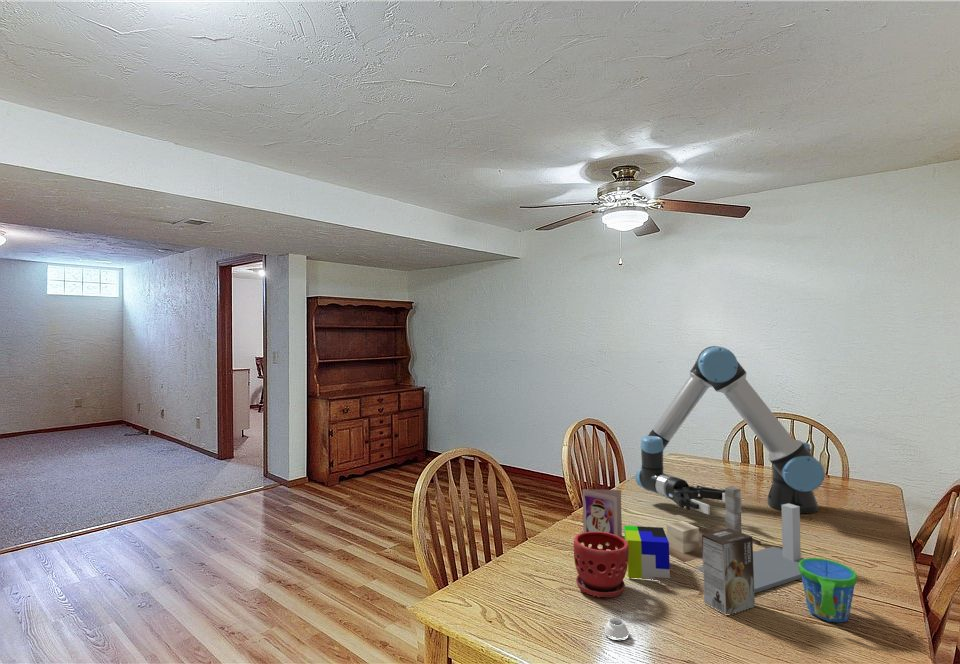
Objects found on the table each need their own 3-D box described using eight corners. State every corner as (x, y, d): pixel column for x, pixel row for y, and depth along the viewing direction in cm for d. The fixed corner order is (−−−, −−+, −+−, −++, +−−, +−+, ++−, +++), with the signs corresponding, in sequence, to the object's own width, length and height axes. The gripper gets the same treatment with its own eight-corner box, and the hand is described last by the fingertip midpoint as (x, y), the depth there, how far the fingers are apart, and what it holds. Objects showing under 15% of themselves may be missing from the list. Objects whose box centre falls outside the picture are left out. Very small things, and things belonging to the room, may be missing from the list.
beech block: (682, 541, 148) (682, 520, 148) (699, 549, 142) (698, 527, 142) (667, 545, 145) (666, 524, 145) (683, 553, 140) (682, 531, 140)
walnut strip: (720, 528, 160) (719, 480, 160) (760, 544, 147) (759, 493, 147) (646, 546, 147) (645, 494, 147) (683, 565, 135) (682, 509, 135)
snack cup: (855, 640, 101) (854, 589, 101) (793, 622, 108) (792, 574, 108) (860, 607, 113) (859, 562, 113) (805, 592, 120) (804, 549, 120)
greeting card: (582, 539, 153) (581, 490, 154) (594, 532, 159) (593, 484, 159) (616, 549, 146) (615, 497, 146) (628, 541, 151) (627, 491, 151)
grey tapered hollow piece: (605, 627, 108) (602, 640, 103) (605, 613, 108) (602, 625, 103) (630, 631, 106) (628, 645, 101) (629, 617, 106) (627, 630, 101)
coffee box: (731, 594, 120) (729, 526, 120) (755, 607, 114) (753, 536, 114) (702, 603, 116) (701, 533, 116) (726, 617, 110) (724, 543, 110)
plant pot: (620, 608, 115) (619, 555, 115) (566, 593, 122) (565, 543, 122) (635, 583, 126) (634, 535, 126) (585, 571, 133) (584, 526, 133)
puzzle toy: (669, 582, 126) (669, 542, 126) (628, 579, 128) (627, 540, 128) (663, 564, 136) (662, 527, 136) (625, 562, 138) (624, 525, 138)
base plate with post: (773, 549, 143) (772, 497, 143) (824, 570, 130) (823, 512, 131) (695, 571, 131) (694, 514, 131) (743, 597, 118) (742, 532, 118)
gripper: (699, 493, 179) (753, 512, 159) (644, 504, 169) (695, 525, 149) (699, 472, 179) (753, 488, 159) (644, 481, 169) (694, 500, 149)
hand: (725, 506), depth 154 cm, fingers open, 13 cm apart
